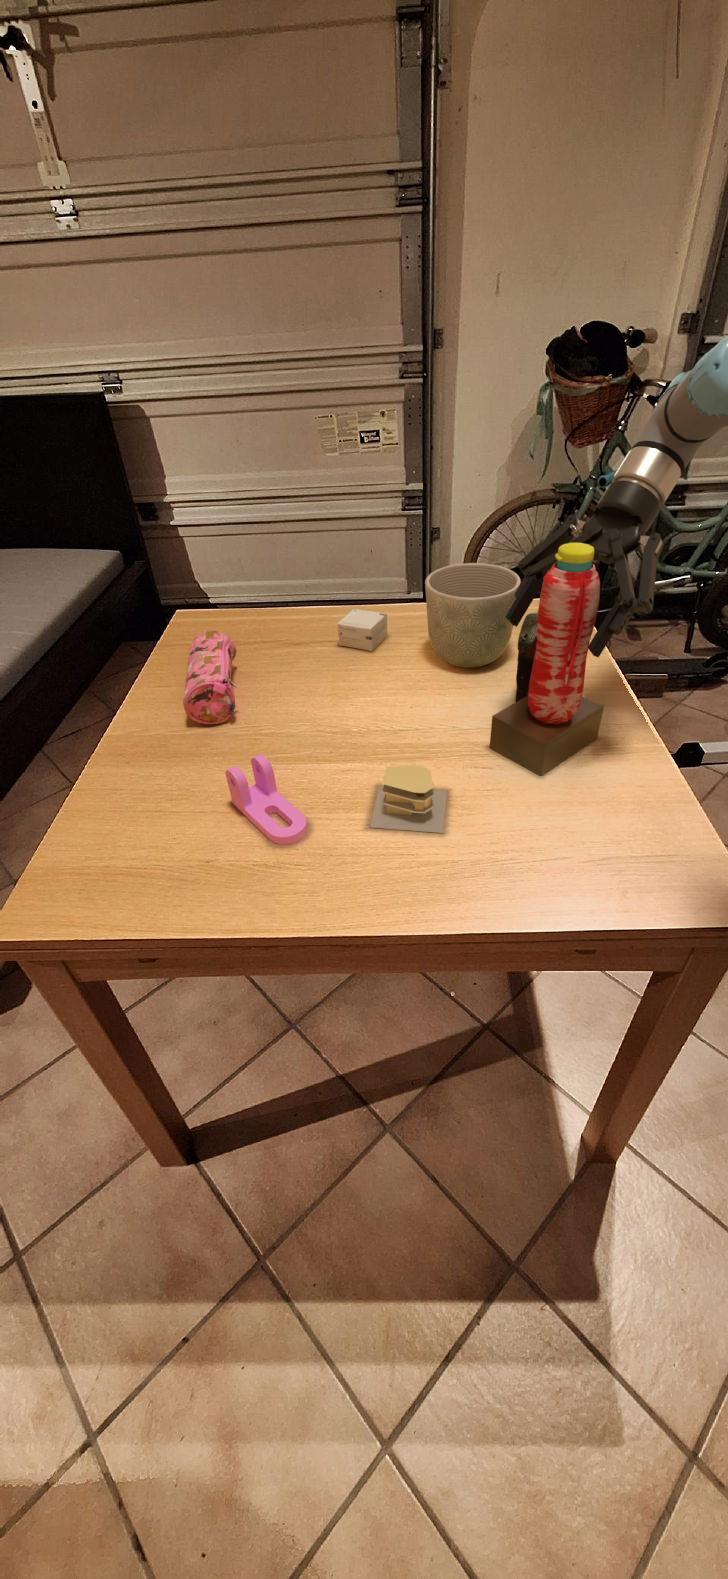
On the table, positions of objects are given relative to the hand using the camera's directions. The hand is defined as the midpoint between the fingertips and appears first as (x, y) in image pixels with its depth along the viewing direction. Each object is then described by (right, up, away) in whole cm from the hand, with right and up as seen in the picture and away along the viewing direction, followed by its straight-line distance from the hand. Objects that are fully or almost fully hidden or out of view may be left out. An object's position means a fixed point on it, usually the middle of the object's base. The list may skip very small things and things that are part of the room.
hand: (549, 636), depth 86 cm
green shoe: (+5, -4, +25) cm, 26 cm away
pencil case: (-53, -4, +30) cm, 61 cm away
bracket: (-38, -25, +3) cm, 46 cm away
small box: (-25, +10, +44) cm, 52 cm away
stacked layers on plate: (-19, -24, +3) cm, 31 cm away
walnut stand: (+3, -14, +13) cm, 19 cm away
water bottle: (+3, -9, +10) cm, 13 cm away
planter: (-5, +5, +37) cm, 37 cm away
